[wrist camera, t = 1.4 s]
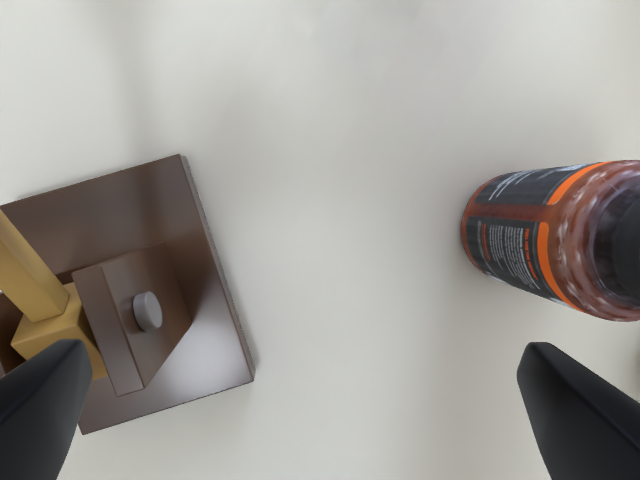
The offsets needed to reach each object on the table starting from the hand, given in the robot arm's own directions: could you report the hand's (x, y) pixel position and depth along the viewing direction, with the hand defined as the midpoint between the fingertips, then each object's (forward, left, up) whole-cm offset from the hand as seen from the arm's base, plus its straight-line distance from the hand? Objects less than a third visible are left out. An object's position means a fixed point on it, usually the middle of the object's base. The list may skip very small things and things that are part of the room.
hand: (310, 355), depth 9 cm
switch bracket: (-5, +7, -14) cm, 17 cm away
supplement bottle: (+6, -10, -15) cm, 19 cm away
